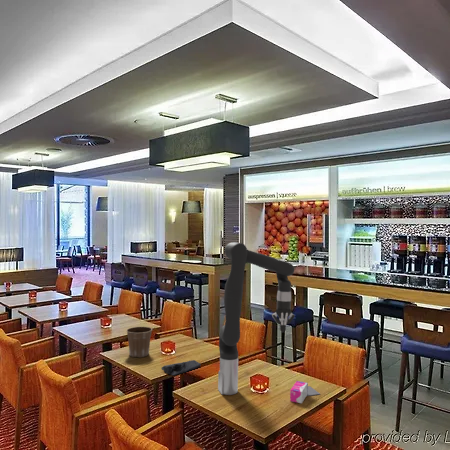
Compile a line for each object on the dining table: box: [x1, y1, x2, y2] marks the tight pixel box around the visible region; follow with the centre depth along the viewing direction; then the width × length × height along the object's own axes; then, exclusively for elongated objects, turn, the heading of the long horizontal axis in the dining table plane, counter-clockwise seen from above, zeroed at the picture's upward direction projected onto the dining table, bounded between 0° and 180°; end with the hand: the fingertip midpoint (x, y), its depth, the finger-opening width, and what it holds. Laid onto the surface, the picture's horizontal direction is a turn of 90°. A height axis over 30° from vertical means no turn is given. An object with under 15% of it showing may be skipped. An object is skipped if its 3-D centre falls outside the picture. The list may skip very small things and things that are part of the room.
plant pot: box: [125, 326, 153, 358], centre depth 260 cm, size 16×16×16 cm
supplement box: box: [289, 380, 309, 404], centre depth 198 cm, size 6×6×12 cm
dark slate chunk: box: [161, 359, 202, 376], centre depth 236 cm, size 15×22×5 cm
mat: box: [306, 385, 321, 397], centre depth 206 cm, size 10×10×1 cm
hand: (282, 331), depth 218 cm, fingers closed
